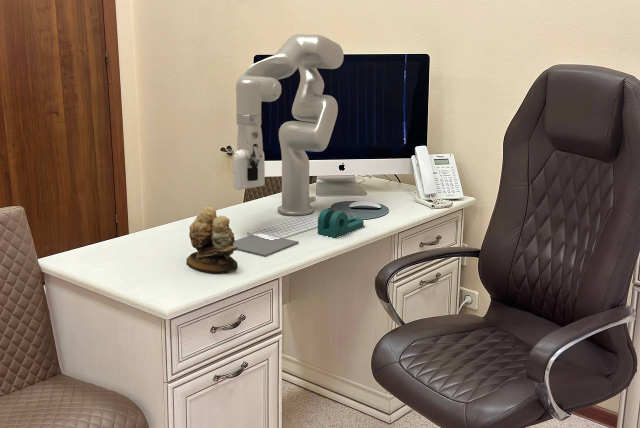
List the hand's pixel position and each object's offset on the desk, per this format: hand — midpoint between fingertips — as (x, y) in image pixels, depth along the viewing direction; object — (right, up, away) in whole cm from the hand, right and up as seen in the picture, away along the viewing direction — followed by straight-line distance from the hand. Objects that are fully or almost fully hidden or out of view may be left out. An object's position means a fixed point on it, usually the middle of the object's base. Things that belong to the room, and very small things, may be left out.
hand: (249, 178), depth 229 cm
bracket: (+29, -17, +9) cm, 35 cm away
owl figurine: (-7, -26, -25) cm, 37 cm away
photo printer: (0, -3, +1) cm, 3 cm away
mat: (+4, -20, -7) cm, 22 cm away
